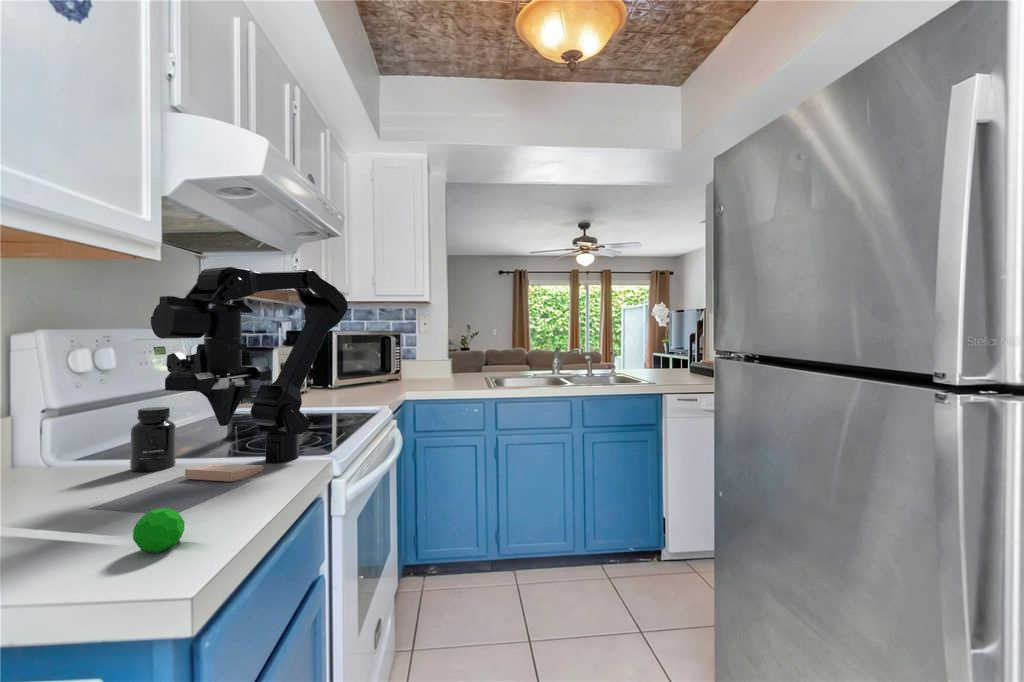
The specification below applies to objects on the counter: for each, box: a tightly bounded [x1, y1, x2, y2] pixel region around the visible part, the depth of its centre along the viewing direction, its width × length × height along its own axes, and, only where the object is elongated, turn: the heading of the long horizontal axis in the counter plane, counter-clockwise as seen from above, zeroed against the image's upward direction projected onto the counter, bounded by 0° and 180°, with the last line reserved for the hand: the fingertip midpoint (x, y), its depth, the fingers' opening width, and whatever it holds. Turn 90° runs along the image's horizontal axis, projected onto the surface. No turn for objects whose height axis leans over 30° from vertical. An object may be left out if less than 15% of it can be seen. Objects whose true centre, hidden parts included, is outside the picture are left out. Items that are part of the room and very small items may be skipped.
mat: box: [88, 475, 254, 514], centre depth 75 cm, size 16×14×1 cm
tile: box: [184, 462, 264, 482], centre depth 85 cm, size 2×9×8 cm
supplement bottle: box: [129, 406, 177, 474], centre depth 90 cm, size 7×7×12 cm
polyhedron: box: [132, 508, 185, 553], centre depth 57 cm, size 5×5×5 cm
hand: (223, 425), depth 84 cm, fingers closed
